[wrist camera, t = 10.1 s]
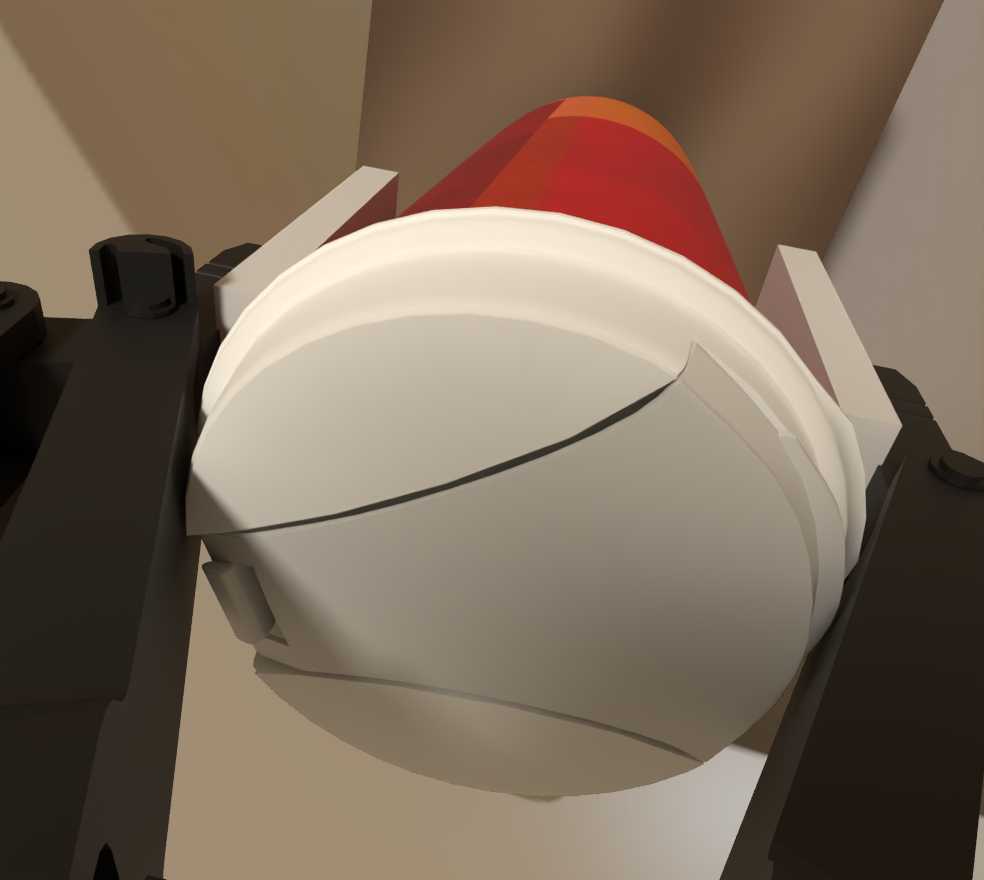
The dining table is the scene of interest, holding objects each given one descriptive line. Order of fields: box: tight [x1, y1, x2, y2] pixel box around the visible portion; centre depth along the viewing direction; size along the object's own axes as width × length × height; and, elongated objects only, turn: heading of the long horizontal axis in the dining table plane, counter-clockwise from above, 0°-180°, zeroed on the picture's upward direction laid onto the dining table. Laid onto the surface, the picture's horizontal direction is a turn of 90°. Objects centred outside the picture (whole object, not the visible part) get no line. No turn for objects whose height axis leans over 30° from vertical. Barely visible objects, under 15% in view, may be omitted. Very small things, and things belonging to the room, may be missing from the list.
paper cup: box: [185, 96, 866, 796], centre depth 14 cm, size 8×8×14 cm
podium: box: [356, 0, 944, 307], centre depth 22 cm, size 13×13×4 cm
